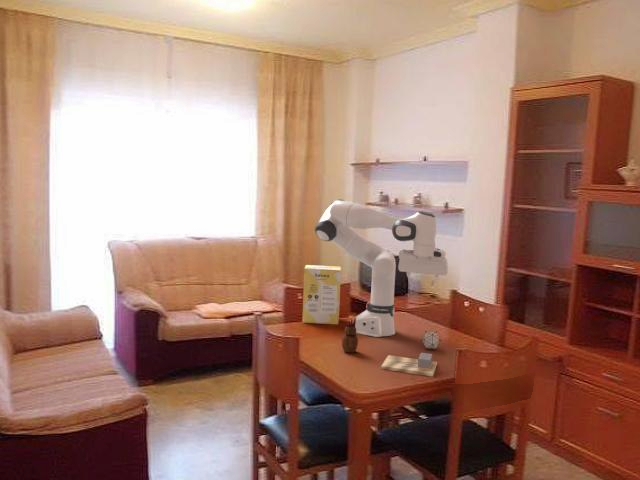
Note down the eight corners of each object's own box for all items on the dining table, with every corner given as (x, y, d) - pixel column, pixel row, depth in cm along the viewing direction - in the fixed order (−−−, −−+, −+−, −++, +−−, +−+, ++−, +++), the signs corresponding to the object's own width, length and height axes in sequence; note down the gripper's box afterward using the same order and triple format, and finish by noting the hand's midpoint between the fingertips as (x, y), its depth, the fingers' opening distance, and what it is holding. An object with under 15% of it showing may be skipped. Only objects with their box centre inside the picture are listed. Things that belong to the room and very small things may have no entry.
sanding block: (417, 368, 208) (418, 358, 207) (420, 362, 215) (421, 352, 215) (429, 370, 207) (429, 360, 206) (431, 363, 214) (432, 354, 214)
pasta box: (338, 319, 282) (340, 266, 278) (338, 324, 271) (340, 270, 268) (304, 317, 283) (306, 264, 280) (302, 322, 272) (304, 268, 269)
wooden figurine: (358, 350, 231) (360, 316, 229) (355, 354, 225) (357, 320, 223) (343, 348, 233) (345, 315, 231) (340, 352, 227) (341, 318, 226)
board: (381, 368, 210) (381, 365, 209) (388, 357, 223) (388, 355, 223) (432, 376, 203) (433, 373, 203) (436, 364, 217) (437, 362, 216)
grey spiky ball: (432, 358, 236) (436, 345, 229) (415, 348, 239) (419, 335, 232) (442, 345, 241) (446, 332, 234) (426, 335, 244) (429, 322, 237)
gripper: (397, 250, 222) (395, 282, 224) (448, 253, 216) (445, 287, 217) (400, 248, 228) (398, 280, 229) (449, 252, 222) (447, 284, 223)
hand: (421, 283), depth 223 cm, fingers open, 8 cm apart
